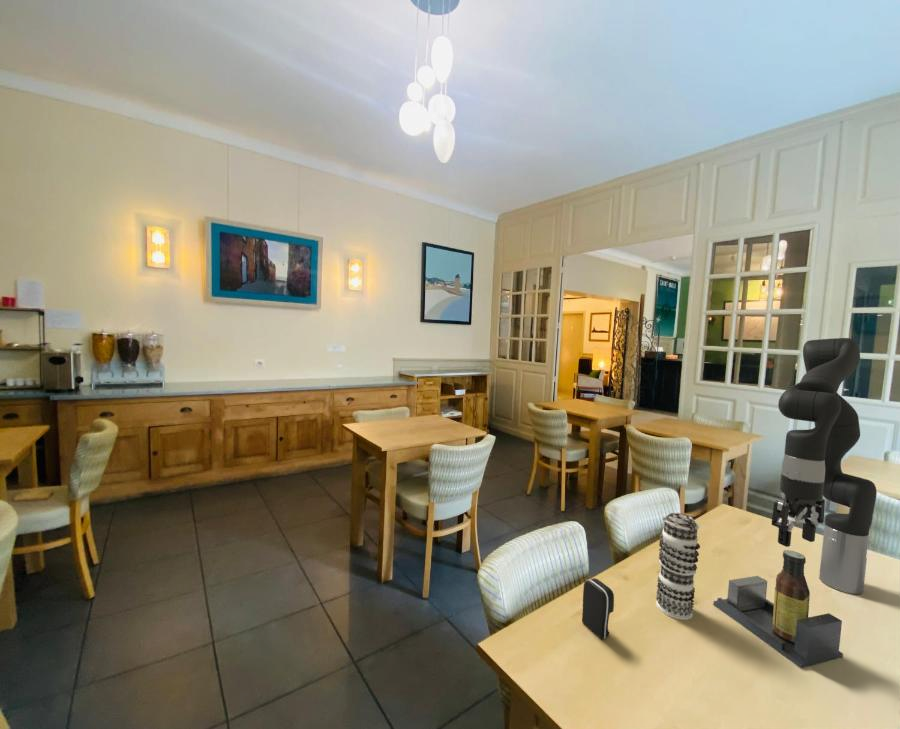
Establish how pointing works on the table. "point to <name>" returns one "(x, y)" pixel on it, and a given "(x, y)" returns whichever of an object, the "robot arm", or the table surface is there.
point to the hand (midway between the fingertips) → (796, 542)
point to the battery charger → (597, 606)
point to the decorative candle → (677, 566)
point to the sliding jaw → (747, 593)
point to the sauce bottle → (790, 596)
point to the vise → (811, 641)
